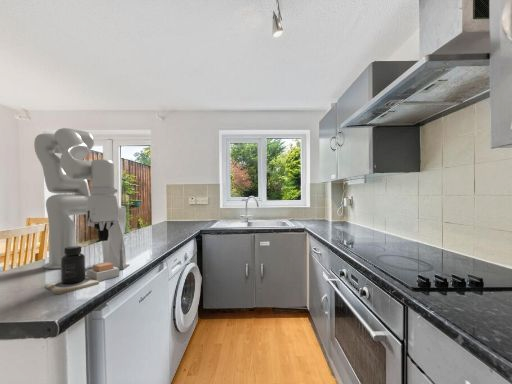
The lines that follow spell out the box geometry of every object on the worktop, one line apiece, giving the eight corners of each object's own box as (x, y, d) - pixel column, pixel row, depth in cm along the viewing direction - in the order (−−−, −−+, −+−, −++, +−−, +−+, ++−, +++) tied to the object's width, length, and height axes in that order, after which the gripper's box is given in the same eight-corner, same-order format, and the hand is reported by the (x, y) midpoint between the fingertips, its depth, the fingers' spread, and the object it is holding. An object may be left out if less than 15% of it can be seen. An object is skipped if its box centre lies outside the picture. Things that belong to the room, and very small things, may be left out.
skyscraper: (101, 270, 109) (101, 202, 109) (110, 265, 117) (110, 202, 117) (123, 269, 110) (122, 202, 110) (130, 264, 118) (130, 201, 118)
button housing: (87, 277, 99) (87, 269, 99) (109, 272, 106) (109, 265, 106) (96, 281, 95) (96, 273, 95) (119, 276, 101) (119, 268, 101)
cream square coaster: (45, 286, 90) (45, 283, 90) (84, 277, 100) (84, 274, 100) (58, 294, 83) (58, 291, 83) (99, 283, 93) (99, 280, 93)
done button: (93, 270, 100) (93, 264, 100) (106, 267, 104) (106, 261, 104) (99, 272, 97) (99, 266, 97) (113, 269, 101) (113, 263, 101)
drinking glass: (111, 265, 117) (110, 231, 117) (98, 264, 118) (97, 231, 118) (121, 261, 123) (121, 229, 124) (109, 261, 125) (109, 229, 125)
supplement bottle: (89, 279, 94) (89, 245, 94) (71, 285, 87) (71, 249, 87) (74, 278, 96) (74, 244, 96) (56, 284, 89) (55, 248, 89)
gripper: (117, 192, 109) (118, 237, 109) (76, 192, 97) (77, 242, 96) (127, 192, 104) (128, 238, 104) (85, 192, 92) (86, 244, 92)
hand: (103, 240), depth 100 cm, fingers closed
